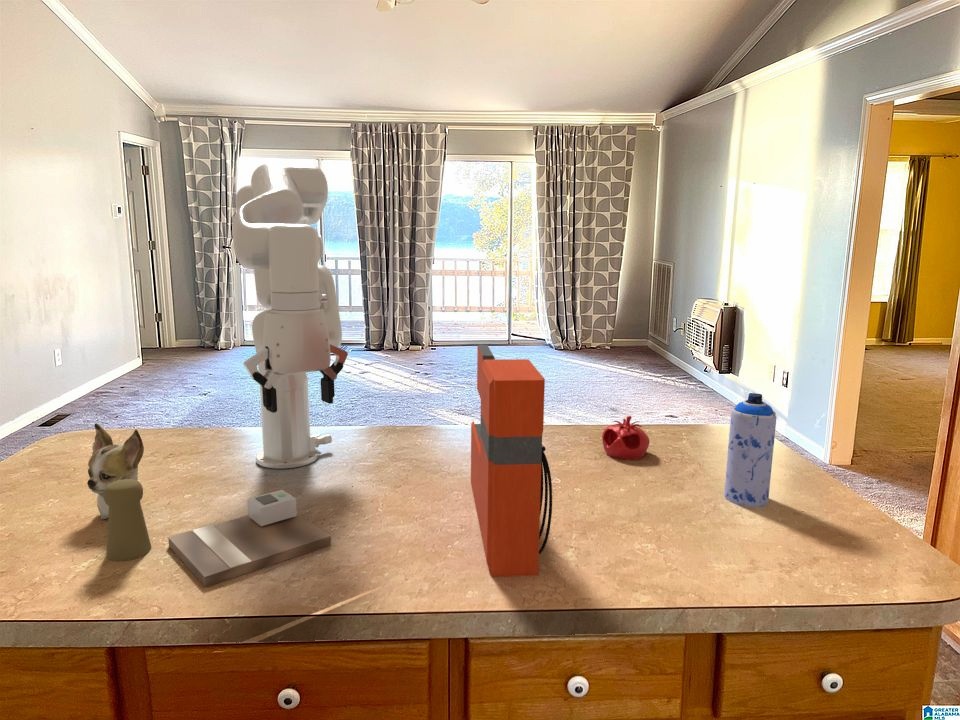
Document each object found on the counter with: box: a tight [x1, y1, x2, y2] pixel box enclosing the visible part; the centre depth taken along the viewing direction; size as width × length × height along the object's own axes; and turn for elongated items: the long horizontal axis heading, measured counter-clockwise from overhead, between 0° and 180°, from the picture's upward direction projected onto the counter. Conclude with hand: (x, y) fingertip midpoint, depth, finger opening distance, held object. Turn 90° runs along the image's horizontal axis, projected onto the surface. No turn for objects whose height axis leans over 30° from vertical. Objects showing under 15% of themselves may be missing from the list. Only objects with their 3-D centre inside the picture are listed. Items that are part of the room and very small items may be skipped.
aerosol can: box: [723, 392, 777, 508], centre depth 119 cm, size 8×8×20 cm
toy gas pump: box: [470, 344, 553, 578], centre depth 108 cm, size 9×35×28 cm, turn 6°
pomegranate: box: [601, 415, 650, 460], centre depth 143 cm, size 10×10×9 cm
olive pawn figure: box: [103, 479, 152, 562], centre depth 99 cm, size 6×6×11 cm
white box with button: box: [246, 489, 298, 526], centre depth 108 cm, size 6×5×3 cm
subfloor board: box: [167, 512, 332, 588], centre depth 102 cm, size 19×16×2 cm
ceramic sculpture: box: [87, 422, 145, 520], centre depth 111 cm, size 11×9×15 cm
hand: (300, 406), depth 110 cm, fingers open, 9 cm apart
